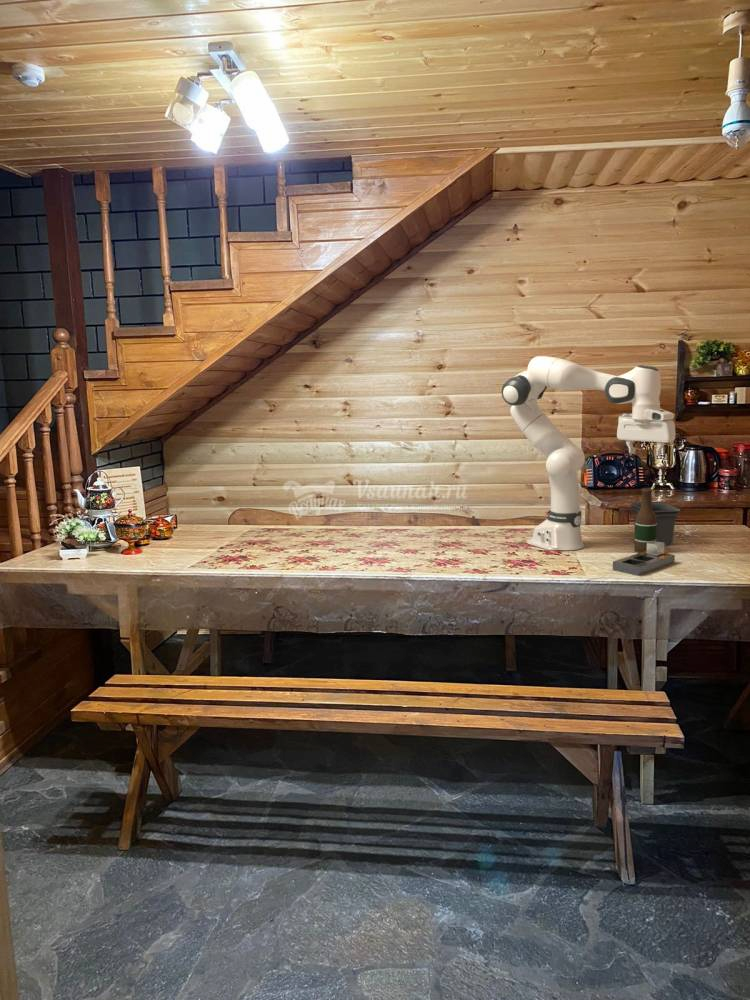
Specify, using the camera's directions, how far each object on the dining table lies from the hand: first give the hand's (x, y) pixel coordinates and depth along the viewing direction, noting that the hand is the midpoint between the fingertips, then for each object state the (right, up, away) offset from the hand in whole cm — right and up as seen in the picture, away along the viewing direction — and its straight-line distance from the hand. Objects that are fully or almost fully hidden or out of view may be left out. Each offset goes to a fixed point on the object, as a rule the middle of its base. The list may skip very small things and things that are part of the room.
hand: (644, 454), depth 251 cm
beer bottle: (+9, -35, +24) cm, 44 cm away
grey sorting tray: (+1, -39, +3) cm, 39 cm away
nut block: (+6, -38, +7) cm, 39 cm away
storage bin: (+19, -32, +39) cm, 54 cm away
